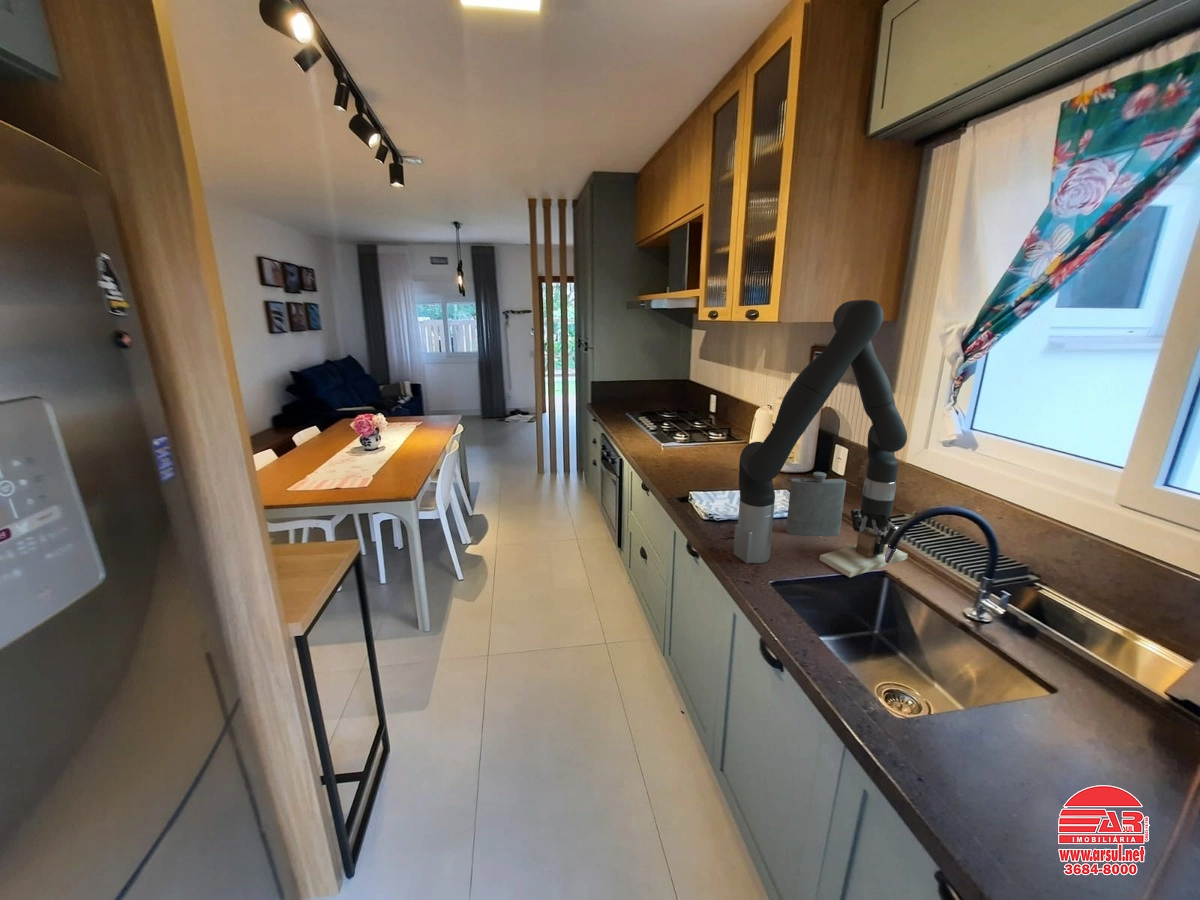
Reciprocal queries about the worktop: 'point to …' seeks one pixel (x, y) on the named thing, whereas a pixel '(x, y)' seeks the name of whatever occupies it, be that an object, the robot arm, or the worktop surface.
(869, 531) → the block
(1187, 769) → the worktop surface
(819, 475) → the hip flask
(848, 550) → the birch board
